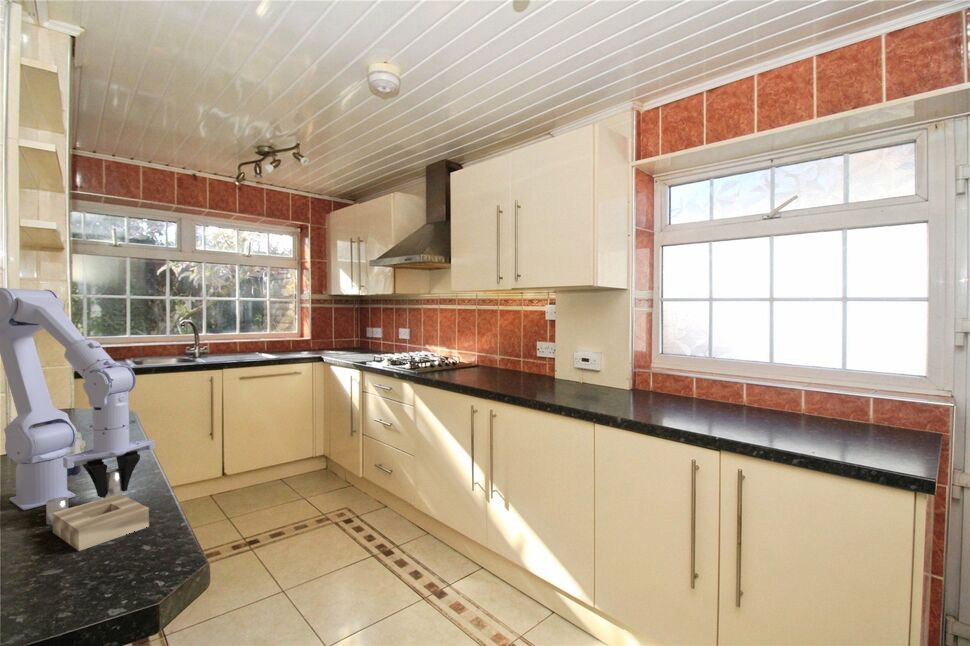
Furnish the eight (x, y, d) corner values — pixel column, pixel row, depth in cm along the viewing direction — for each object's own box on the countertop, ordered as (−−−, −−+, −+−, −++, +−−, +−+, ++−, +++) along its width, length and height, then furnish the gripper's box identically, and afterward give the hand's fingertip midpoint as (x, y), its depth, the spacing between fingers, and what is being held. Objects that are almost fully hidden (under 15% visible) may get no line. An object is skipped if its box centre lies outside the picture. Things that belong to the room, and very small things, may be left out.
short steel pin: (44, 522, 85) (43, 501, 85) (65, 516, 88) (64, 495, 87) (49, 526, 83) (49, 504, 83) (70, 520, 86) (70, 499, 86)
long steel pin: (100, 505, 92) (99, 471, 92) (118, 500, 95) (117, 467, 95) (106, 509, 91) (106, 474, 90) (124, 503, 93) (124, 469, 93)
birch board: (52, 532, 81) (52, 512, 81) (120, 511, 90) (120, 493, 90) (78, 551, 75) (78, 530, 75) (148, 526, 83) (148, 507, 83)
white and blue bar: (55, 463, 107) (59, 427, 125) (56, 490, 108) (60, 451, 126) (85, 458, 110) (85, 424, 129) (85, 484, 111) (85, 447, 130)
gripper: (72, 438, 84) (73, 510, 84) (161, 421, 96) (162, 485, 97) (58, 432, 88) (60, 502, 88) (145, 417, 100) (146, 478, 100)
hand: (112, 493), depth 93 cm, fingers closed on long steel pin, 3 cm apart
